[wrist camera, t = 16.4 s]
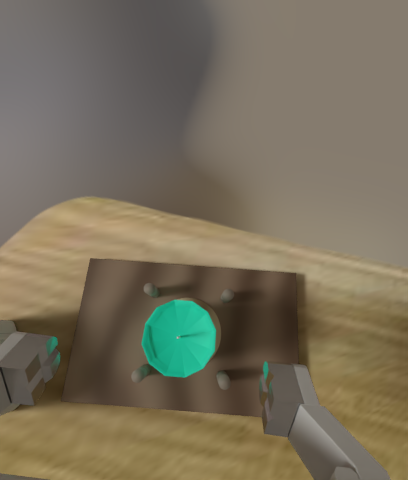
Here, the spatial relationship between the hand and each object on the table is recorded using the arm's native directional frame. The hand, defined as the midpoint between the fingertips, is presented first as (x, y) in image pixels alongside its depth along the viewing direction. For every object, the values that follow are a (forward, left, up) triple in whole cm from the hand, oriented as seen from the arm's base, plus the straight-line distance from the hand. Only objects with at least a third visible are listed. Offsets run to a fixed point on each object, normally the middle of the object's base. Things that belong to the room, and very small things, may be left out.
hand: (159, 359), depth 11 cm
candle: (0, 0, -22) cm, 22 cm away
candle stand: (0, -1, -24) cm, 24 cm away
